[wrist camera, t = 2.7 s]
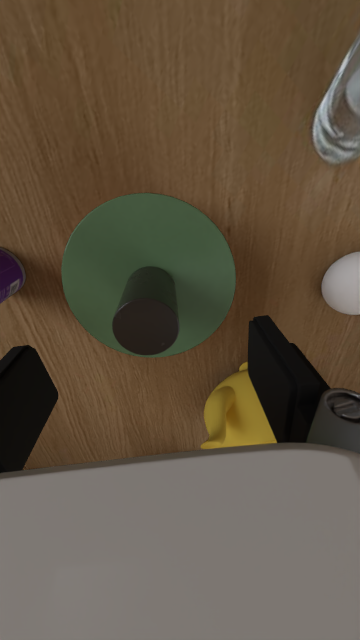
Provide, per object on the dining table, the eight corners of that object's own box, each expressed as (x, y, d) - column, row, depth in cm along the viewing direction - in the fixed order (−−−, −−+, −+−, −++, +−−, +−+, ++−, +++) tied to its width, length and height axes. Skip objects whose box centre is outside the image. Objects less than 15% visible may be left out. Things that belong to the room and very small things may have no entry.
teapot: (152, 398, 32) (147, 493, 22) (226, 319, 27) (262, 399, 17) (254, 445, 39) (286, 535, 29) (330, 391, 34) (400, 478, 24)
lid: (30, 269, 18) (-36, 312, 12) (165, 144, 14) (165, 117, 9) (143, 371, 23) (136, 434, 17) (260, 296, 20) (300, 343, 14)
